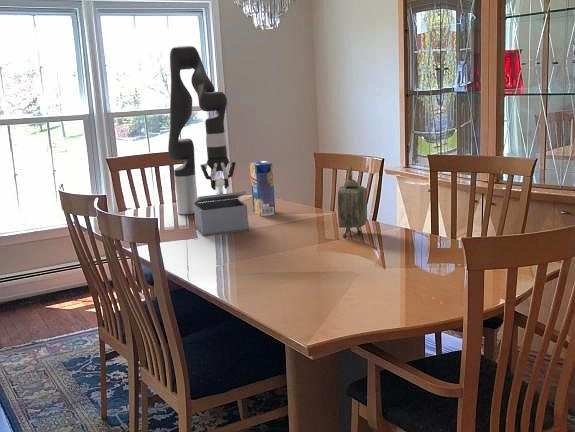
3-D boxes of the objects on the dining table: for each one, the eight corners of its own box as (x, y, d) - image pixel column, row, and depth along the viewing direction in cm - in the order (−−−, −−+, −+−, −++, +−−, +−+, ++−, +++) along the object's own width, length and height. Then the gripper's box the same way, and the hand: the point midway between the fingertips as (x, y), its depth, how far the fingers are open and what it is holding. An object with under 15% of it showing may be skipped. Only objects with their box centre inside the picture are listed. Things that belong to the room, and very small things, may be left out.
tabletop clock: (343, 229, 246) (341, 164, 241) (367, 229, 244) (365, 163, 239) (339, 239, 232) (336, 170, 227) (364, 239, 230) (362, 170, 225)
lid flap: (193, 203, 261) (190, 184, 262) (237, 198, 267) (235, 179, 267) (199, 198, 246) (196, 178, 247) (246, 193, 251) (243, 173, 252)
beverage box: (268, 209, 289) (264, 160, 284) (275, 214, 279) (272, 163, 274) (253, 211, 287) (249, 162, 282) (260, 216, 277) (256, 165, 272)
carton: (196, 227, 264) (193, 203, 262) (239, 222, 269) (237, 198, 267) (203, 236, 249) (201, 210, 247) (248, 230, 254) (246, 205, 252)
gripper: (232, 142, 254) (235, 185, 258) (196, 145, 250) (200, 189, 254) (236, 144, 247) (240, 188, 251) (199, 147, 243) (203, 192, 247)
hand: (220, 188), depth 252 cm, fingers closed on lid flap, 4 cm apart
